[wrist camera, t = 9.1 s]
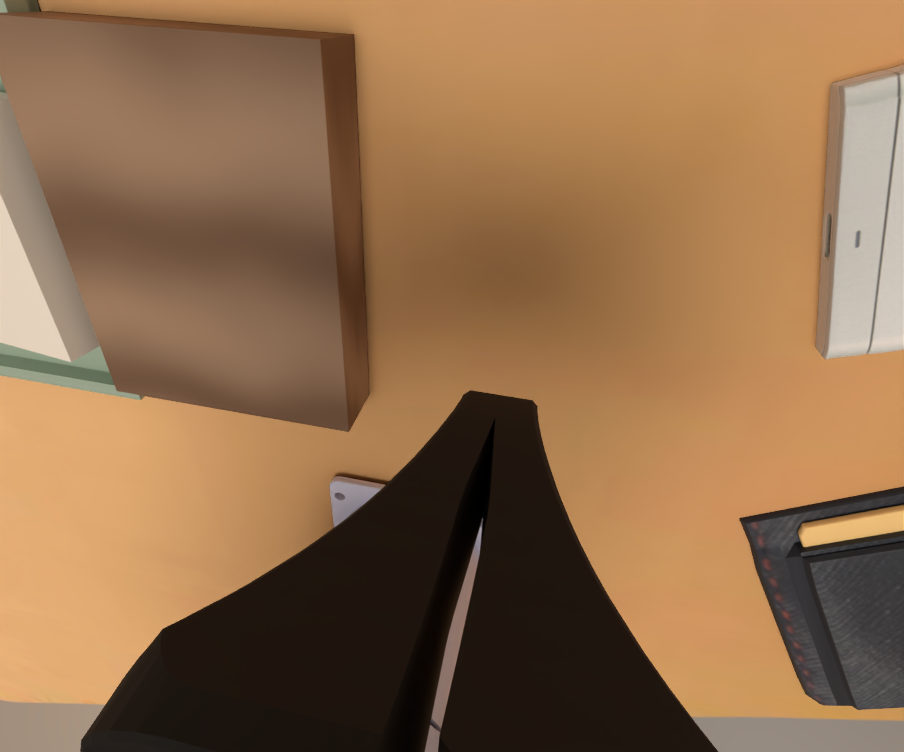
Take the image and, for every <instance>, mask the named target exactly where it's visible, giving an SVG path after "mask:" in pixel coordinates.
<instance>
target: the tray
mask: <svg viewBox="0 0 904 752" xmlns="http://www.w3.org/2000/svg"><path fill="white" fill-rule="evenodd" d="M5 12H40V9H39V6H38V3H37V0H0V13H5ZM0 92H4V93H6V90H5V87H4V85H3V82H2V79H1V76H0ZM0 375H1V376H7V377H12V378H18V379H24V380H29V381H35V382H41V383H46V384H52V385H58V386H63V387H69V388H75V389H80V390H86V391H91V392H97V393H103V394H108V395H114V396H120V397H125V398H131V399H137V400H141V399H142V398H144V397H145V396H142V395H136V394H131V393H125V392H119V391H116V388H115V385H114V383H113V380H112V377H111V374H110V372H109V369H108V366H107V364H106V361H105V358H104V355H103V353H102V350H101V347H100V346H99V347H97V348H95V349H93V350H92V351H90V352H88V353H87V354H85V355H83V356H81V357H80V358H78V359H76V360H75V361H73V362H69V361H65V360H61V359H58V358H54V357H51V356H47V355H43V354H40V353H36V352H33V351H29V350H26V349H22V348H18V347H15V346H11V345H8V344H4V343H0Z"/></svg>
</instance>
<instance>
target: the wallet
mask: <svg viewBox="0 0 904 752" xmlns="http://www.w3.org/2000/svg"><path fill="white" fill-rule="evenodd" d="M739 519H740V521H741V524H742V526H743V529H744V531H745V533H746V536H747V538H748V541H749V543H750V547H751V551H752V555H753V559H754V563H755V567H756V570H757V573H758V576H759V578H760V581H761V584H762V586H763V589H764V592H765V594H766V597H767V599H768V602H769V605H770V607H771V610H772V613H773V615H774V618H775V620H776V623H777V626H778V628H779V631H780V633H781V636H782V639H783V641H784V644H785V646H786V649H787V651H788V654H789V657H790V659H791V662H792V664H793V667H794V669H795V672H796V675H797V677H798V679H799V681H800V683H801V685H802V687H803V689H804V692H805V694H806V695H808V696H809V697H811V698H812V699H814V700H815V701H817V702H818V703H819V704H822V705H832V706H853V707H854V708H856V709H857V710H863V709H882V708H901V707H904V487H900V488H894V489H889V490H884V491H879V492H874V493H868V494H863V495H858V496H853V497H848V498H843V499H837V500H832V501H827V502H822V503H817V504H811V505H806V506H801V507H796V508H790V509H785V510H780V511H775V512H770V513H764V514H759V515H754V516H749V517H744V518H739Z"/></svg>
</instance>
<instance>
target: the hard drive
mask: <svg viewBox="0 0 904 752" xmlns="http://www.w3.org/2000/svg"><path fill="white" fill-rule="evenodd" d="M816 348H817V350H818V351H819V353H820V354H821V355H822V357H824V359H830V358H838V357H847V356H856V355H863V354H873V353H883V352H891V351H898V350H904V65H901V66H897V67H893V68H889V69H885V70H881V71H877V72H873V73H869V74H865V75H861V76H857V77H853V78H849V79H846V80H842V81H838V82H834V83H832V84H831V89H830V107H829V126H828V144H827V161H826V179H825V197H824V213H823V229H822V248H821V267H820V284H819V302H818V319H817V335H816Z"/></svg>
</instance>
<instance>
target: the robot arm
mask: <svg viewBox="0 0 904 752" xmlns="http://www.w3.org/2000/svg"><path fill="white" fill-rule="evenodd" d="M329 487H330V496H331V506H332V515H333V524H334V528H333V529H332V530H330V531H329V532H328V533H326V534H325V535H323V536H322V537H321V538H319V539H318V540H317V541H315V542H314V543H312V544H311V545H309V546H308V547H307V548H305V549H304V550H302V551H301V552H299V553H298V554H296V555H294V556H293V557H291V558H290V559H288V560H286V561H285V562H283V563H282V564H280V565H278V566H277V567H275V568H273V569H272V570H270V571H269V572H267V573H265V574H264V575H262V576H261V577H259V578H257V579H256V580H254V581H252V582H251V583H249V584H247V585H246V586H244V587H242V588H240V589H239V590H237V591H235V592H233V593H231V594H230V595H228V596H226V597H224V598H222V599H220V600H218V601H216V602H214V603H212V604H210V605H209V606H207V607H205V608H203V609H201V610H199V611H197V612H195V613H193V614H191V615H189V616H188V617H186V618H184V619H182V620H180V621H178V622H176V623H174V624H172V625H170V626H168V627H166V628H164V629H162V631H161V632H160V633H159V634H158V636H157V637H156V638H155V639H154V641H153V642H152V643H151V644H150V646H149V647H148V648H147V649H146V650H145V651H144V653H143V654H142V655H141V656H140V657H139V658H138V660H137V661H136V662H135V664H134V665H133V666H132V668H131V669H130V670H129V671H128V673H127V674H126V676H125V677H124V678H123V680H122V681H121V683H120V684H119V686H118V687H117V689H116V690H115V692H114V693H113V695H112V696H111V698H110V699H109V701H108V702H107V703H106V705H105V706H104V708H103V709H102V711H101V712H100V714H99V715H98V717H97V718H96V720H95V721H94V723H93V724H92V725H91V727H90V728H89V730H88V731H87V733H86V734H85V736H84V737H83V739H82V740H81V750H80V751H81V752H718V751H717V749H716V748H715V747H714V746H713V745H712V743H711V742H710V741H709V740H708V738H707V737H706V736H705V734H704V733H703V732H702V731H701V730H700V728H699V727H698V726H697V724H696V723H695V722H694V720H693V719H692V718H691V716H690V715H689V714H688V712H687V711H686V710H685V708H684V707H683V706H682V704H681V703H680V702H679V700H678V699H677V698H676V696H675V695H674V694H673V693H672V691H671V690H670V688H669V687H668V686H667V684H666V683H665V681H664V680H663V679H662V677H661V676H660V674H659V673H658V671H657V670H656V669H655V667H654V666H653V664H652V663H651V662H650V660H649V659H648V657H647V656H646V654H645V653H644V652H643V650H642V648H641V647H640V645H639V644H638V642H637V641H636V639H635V637H634V636H633V634H632V633H631V631H630V630H629V628H628V626H627V625H626V623H625V622H624V620H623V618H622V617H621V615H620V614H619V612H618V611H617V609H616V607H615V606H614V604H613V603H612V601H611V600H610V598H609V596H608V594H607V593H606V591H605V589H604V587H603V586H602V584H601V582H600V580H599V578H598V577H597V575H596V573H595V571H594V569H593V568H592V566H591V564H590V562H589V560H588V558H587V556H586V554H585V552H584V550H583V548H582V546H581V544H580V542H579V540H578V538H577V535H576V533H575V531H574V529H573V527H572V524H571V522H570V520H569V517H568V515H567V512H566V510H565V508H564V505H563V503H562V500H561V498H560V495H559V492H558V490H557V487H556V484H555V481H554V478H553V475H552V472H551V469H550V466H549V463H548V460H547V457H546V453H545V450H544V446H543V441H542V437H541V433H540V428H539V422H538V414H537V405H536V404H535V403H534V402H533V400H527V399H520V398H514V397H508V396H502V395H495V394H489V393H483V392H477V391H471V390H470V391H469V392H467V393H465V394H464V395H463V397H462V399H461V400H460V402H459V403H458V405H457V406H456V408H455V409H454V410H453V412H452V413H451V414H450V416H449V417H448V418H447V420H446V421H445V422H444V423H443V425H442V426H441V427H440V428H439V430H438V431H437V432H436V433H435V434H434V435H433V436H432V438H431V439H430V440H429V441H428V442H427V443H426V444H425V446H424V447H423V448H422V449H421V450H420V451H419V452H418V453H417V454H416V456H415V457H414V458H413V459H412V460H411V461H410V462H409V463H408V464H407V465H406V466H405V467H404V468H403V469H402V470H401V471H400V472H399V473H398V474H397V475H396V476H395V477H394V478H393V479H392V480H390V481H389V482H388V483H387V484H386V485H384V484H379V483H374V482H368V481H363V480H358V479H352V478H347V477H342V476H337V477H334V478H333V479H332V481H331V483H330V486H329ZM341 493H342V494H341ZM482 520H483V521H482Z"/></svg>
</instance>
